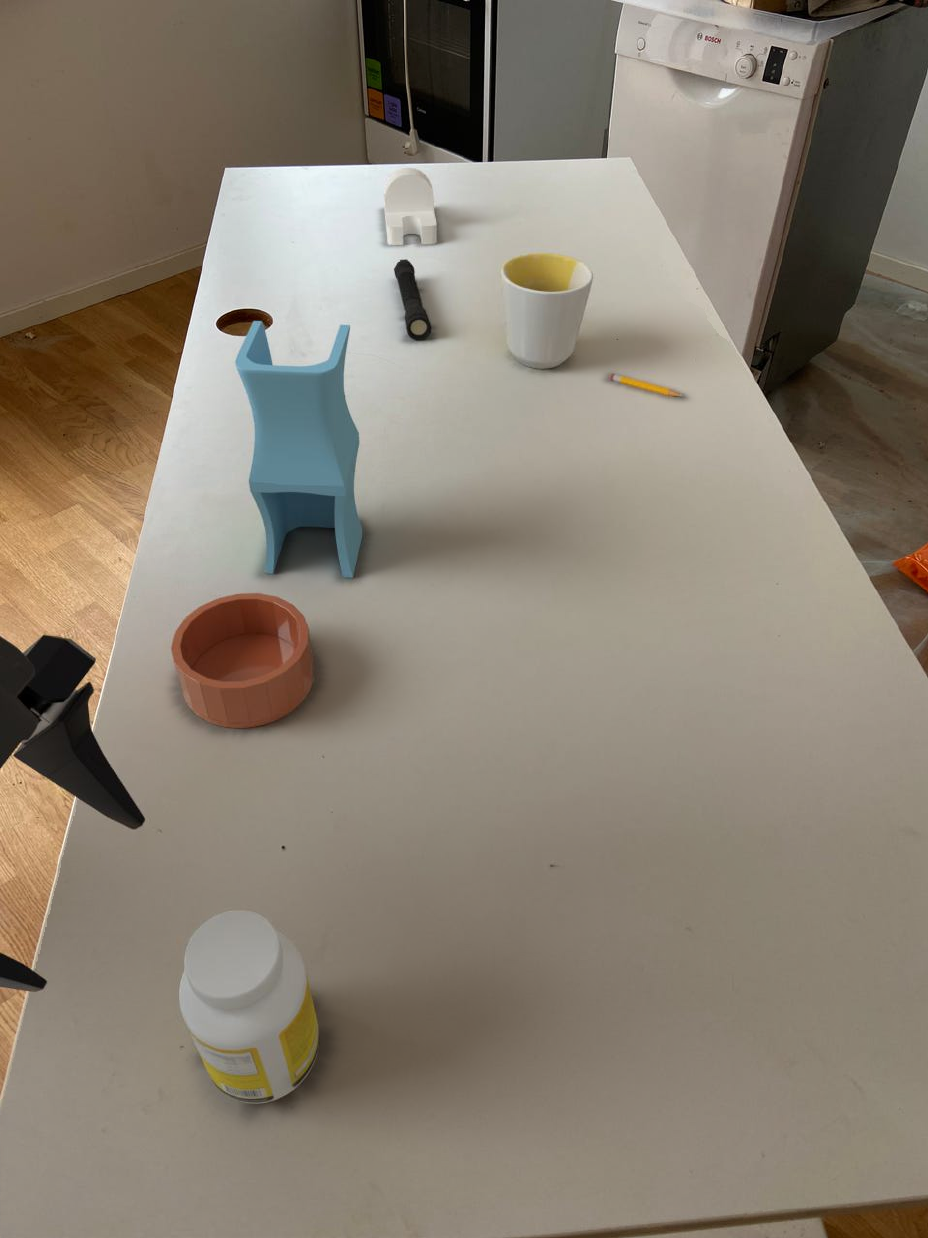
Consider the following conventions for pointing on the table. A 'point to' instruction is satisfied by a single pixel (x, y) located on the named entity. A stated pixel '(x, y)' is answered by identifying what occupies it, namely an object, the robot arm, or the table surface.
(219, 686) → the bowl
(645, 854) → the table surface
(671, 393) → the pencil
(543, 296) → the mug
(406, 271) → the flashlight
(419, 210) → the slotted bracket
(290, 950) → the pill bottle
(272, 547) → the stacked u-channel piece
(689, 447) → the table surface
